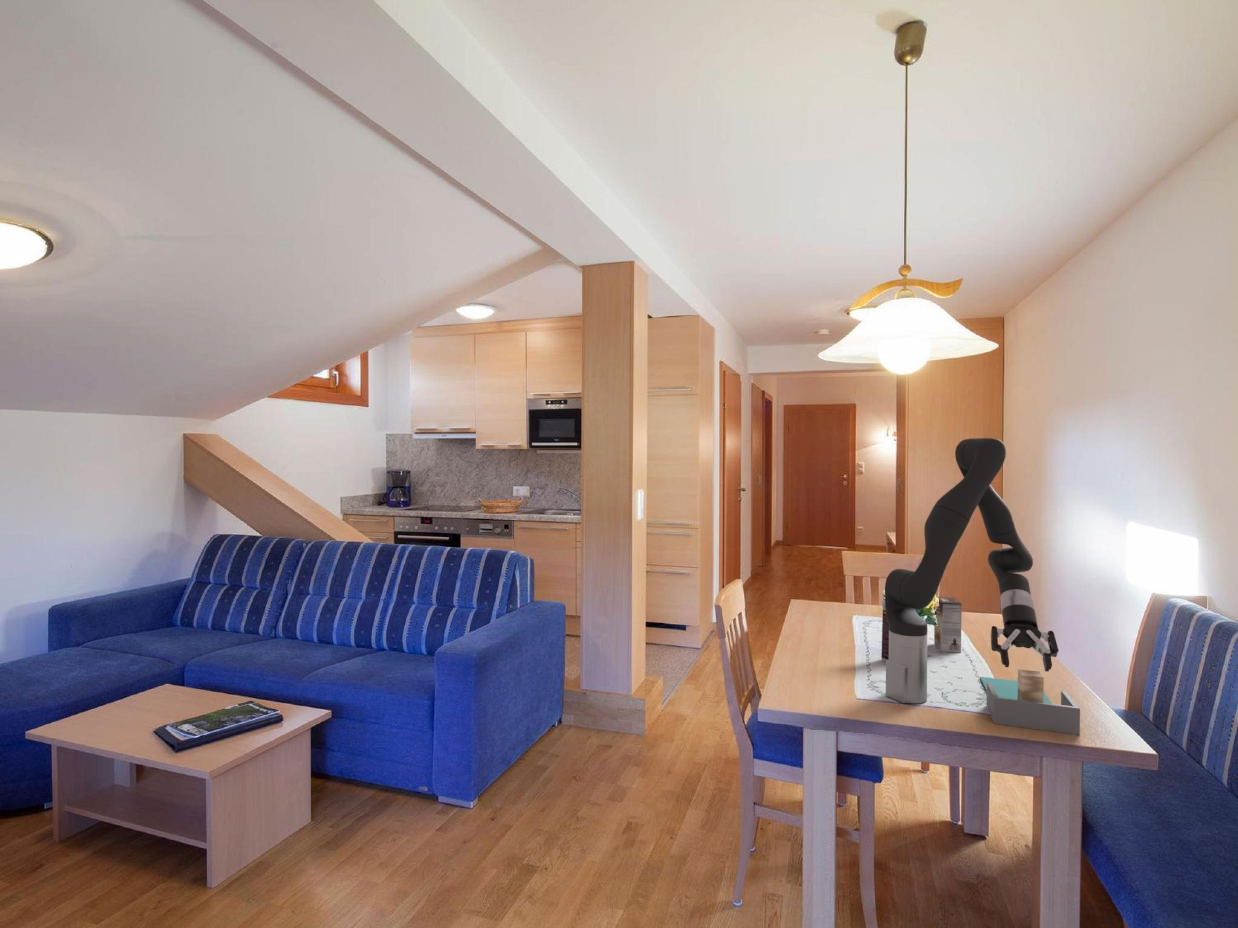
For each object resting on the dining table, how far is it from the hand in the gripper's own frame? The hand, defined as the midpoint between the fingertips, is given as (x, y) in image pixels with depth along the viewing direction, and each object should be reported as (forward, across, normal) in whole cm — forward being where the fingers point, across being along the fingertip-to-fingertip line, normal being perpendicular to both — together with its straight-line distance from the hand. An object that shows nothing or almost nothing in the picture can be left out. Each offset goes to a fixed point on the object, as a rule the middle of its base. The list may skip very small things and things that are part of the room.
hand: (1027, 667), depth 162 cm
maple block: (+8, 0, +3) cm, 9 cm away
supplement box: (-15, -28, +31) cm, 45 cm away
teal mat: (-3, 0, +19) cm, 19 cm away
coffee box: (-30, -13, +46) cm, 57 cm away
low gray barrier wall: (+11, 0, +5) cm, 12 cm away
